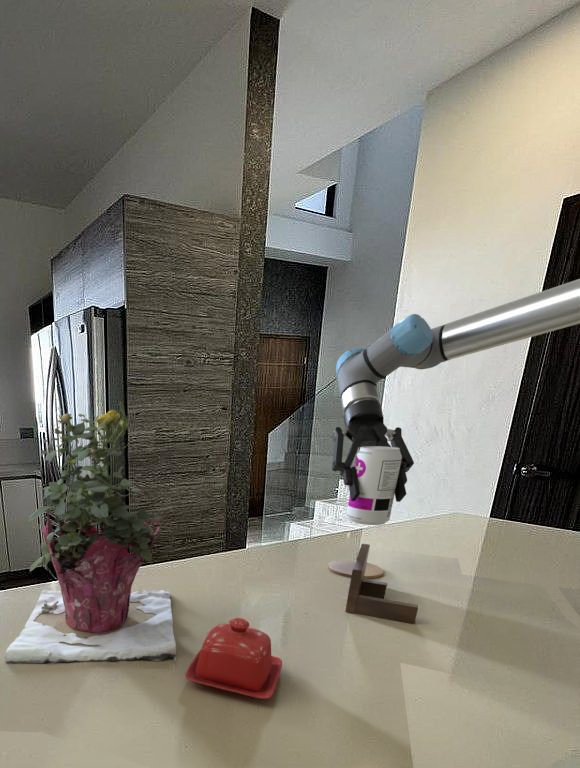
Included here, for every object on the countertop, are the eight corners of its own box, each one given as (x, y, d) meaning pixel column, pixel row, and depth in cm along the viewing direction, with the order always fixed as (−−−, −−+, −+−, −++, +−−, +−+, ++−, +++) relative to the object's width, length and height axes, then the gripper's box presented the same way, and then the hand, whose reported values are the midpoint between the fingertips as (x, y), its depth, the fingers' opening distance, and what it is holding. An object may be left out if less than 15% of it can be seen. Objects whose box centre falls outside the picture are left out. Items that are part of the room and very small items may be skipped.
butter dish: (284, 665, 68) (291, 610, 65) (270, 709, 58) (277, 647, 55) (205, 648, 72) (208, 597, 69) (180, 687, 63) (182, 629, 60)
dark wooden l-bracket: (414, 589, 95) (423, 550, 92) (414, 624, 80) (424, 579, 77) (355, 580, 100) (361, 543, 97) (345, 611, 85) (352, 569, 82)
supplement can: (348, 524, 99) (360, 449, 93) (344, 515, 106) (355, 445, 100) (391, 527, 96) (407, 450, 91) (384, 518, 104) (398, 446, 98)
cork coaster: (383, 566, 108) (384, 564, 107) (381, 582, 99) (381, 579, 98) (331, 559, 113) (332, 557, 112) (324, 573, 104) (324, 570, 103)
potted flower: (43, 593, 93) (29, 401, 81) (169, 594, 93) (174, 401, 80) (4, 662, 69) (-25, 402, 56) (176, 665, 68) (186, 401, 55)
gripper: (403, 422, 108) (423, 508, 99) (307, 422, 109) (318, 507, 100) (420, 397, 101) (443, 487, 92) (318, 397, 102) (330, 486, 93)
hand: (378, 497), depth 96 cm, fingers closed on supplement can, 8 cm apart
